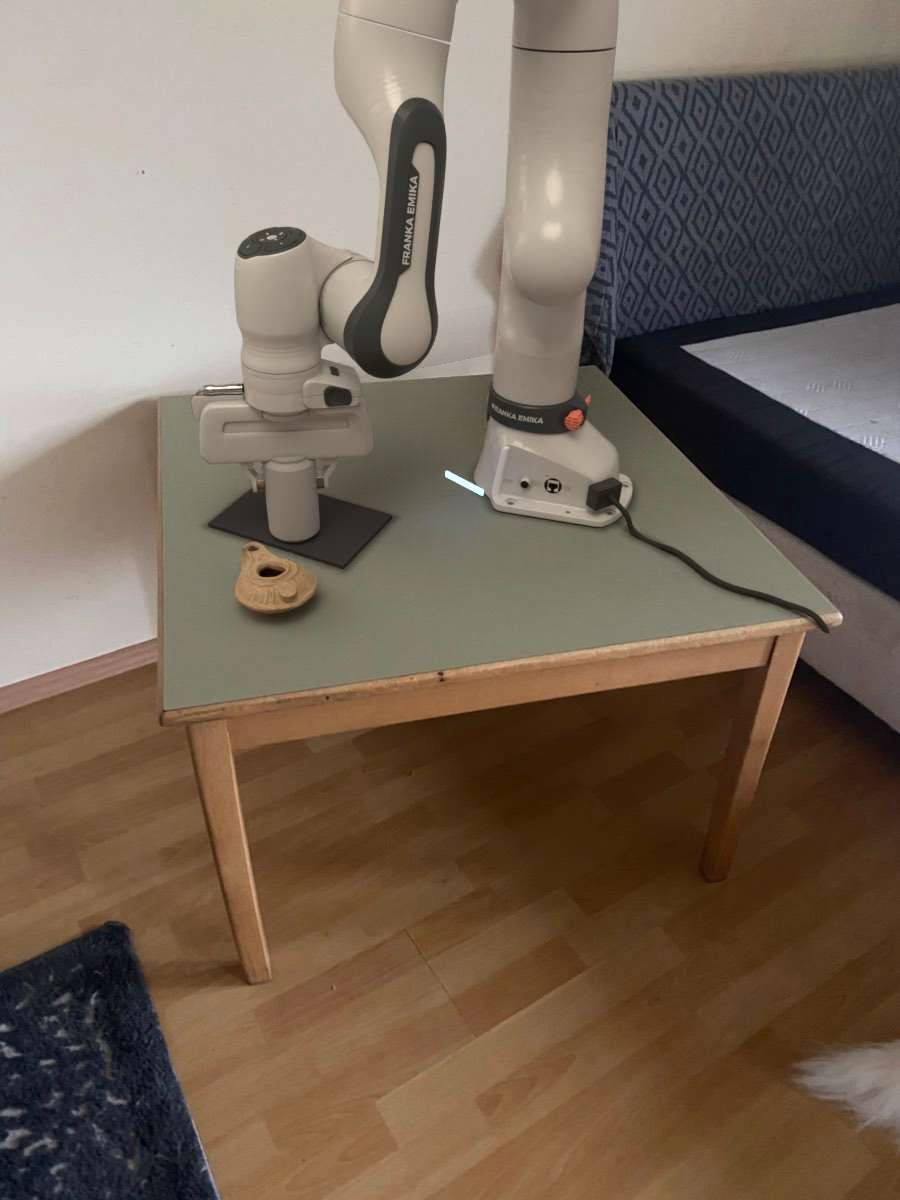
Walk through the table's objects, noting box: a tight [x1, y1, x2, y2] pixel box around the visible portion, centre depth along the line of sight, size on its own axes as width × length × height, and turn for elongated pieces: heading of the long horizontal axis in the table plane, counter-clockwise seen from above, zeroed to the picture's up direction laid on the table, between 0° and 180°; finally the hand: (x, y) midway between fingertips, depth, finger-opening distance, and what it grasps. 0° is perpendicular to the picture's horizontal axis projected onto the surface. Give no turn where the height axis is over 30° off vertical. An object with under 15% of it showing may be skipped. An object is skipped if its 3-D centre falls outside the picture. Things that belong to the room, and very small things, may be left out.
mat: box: [207, 487, 393, 570], centre depth 114 cm, size 20×13×1 cm, turn 66°
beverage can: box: [261, 456, 320, 543], centre depth 108 cm, size 6×6×12 cm
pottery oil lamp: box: [234, 541, 319, 614], centre depth 100 cm, size 9×12×7 cm
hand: (291, 488), depth 107 cm, fingers closed on beverage can, 6 cm apart
